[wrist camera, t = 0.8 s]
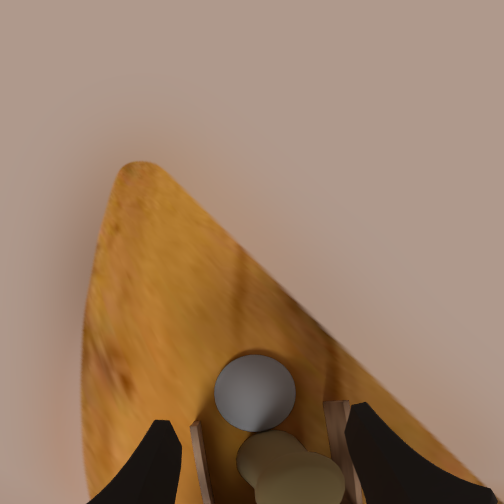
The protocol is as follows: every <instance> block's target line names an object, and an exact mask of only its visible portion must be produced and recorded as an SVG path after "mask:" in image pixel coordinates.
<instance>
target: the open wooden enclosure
mask: <svg viewBox="0 0 504 504" xmlns="http://www.w3.org/2000/svg"><path fill="white" fill-rule="evenodd" d="M323 406H324V412H325V418H326V424H327V431H328V437H329V444H330V450H331V457H332V461H334V462H335V463H336V464H337V465H338V466H339V468H340V469H341V471H342V473H343V475H344V478H345V492H344V495H343V498H342V501H341V502H340V504H363V503H362V492H361V484H360V481H359V478H358V476H357V473H356V471H355V468H354V465H353V463H352V460H351V457H350V454H349V451H348V447H347V443H346V438H345V434H344V431H345V428H346V424H347V421H348V417H349V413H350V405H349V400H342V401H326V402H323ZM190 432H191V438H192V445H193V451H194V457H195V463H196V468H197V474H198V479H199V484H200V489H201V494H202V498H203V503H204V504H215V502H214V497H213V492H212V487H211V482H210V477H209V471H208V466H207V460H206V454H205V448H204V442H203V436H202V429H201V422H200V421H194V422H193V424H192V425H191V426H190Z"/></svg>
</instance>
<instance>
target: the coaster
mask: <svg viewBox="0 0 504 504" xmlns="http://www.w3.org/2000/svg"><path fill="white" fill-rule="evenodd" d="M214 396H215V402H216V405H217V408H218V410H219V412H220V414H221V415H222V416H223V418H224V419H225V420H226V421H227V422H229V423H230V424H231V425H233V426H235V427H237V428H239V429H242V430H245V431H251V432H259V431H265V430H268V429H271V428H273V427H275V426H277V425H279V424H280V423H281V422H282V421H284V420H285V419H286V417H287V416H288V415H289V413H290V412H291V410H292V408H293V406H294V402H295V397H296V390H295V384H294V381H293V378H292V376H291V374H290V373H289V371H288V370H287V369H286V368H285V367H284V366H283V365H282V364H281V363H280V362H278V361H276V360H275V359H272V358H270V357H267V356H263V355H247V356H243V357H240V358H238V359H235V360H234V361H232V362H231V363H229V364H228V365H227V366H226V367H225V368H224V369H223V370H222V372H221V373H220V375H219V376H218V378H217V381H216V384H215V391H214Z"/></svg>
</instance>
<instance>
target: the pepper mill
mask: <svg viewBox="0 0 504 504" xmlns="http://www.w3.org/2000/svg"><path fill="white" fill-rule="evenodd" d="M236 460H237V468H238V470H239V472H240V474H241V476H242V477H243V478H244V479H245V480H246V481H247V482H248V483H249V484H250V485H251V486H252V487H253V488H254V489H255V499H256V503H257V504H340V502H341V501H342V498H343V495H344V492H345V478H344V475H343V473H342V471H341V469H340V468H339V466H338V465H337V464H336V463H335V462H334V461H332V460H331V459H330V458H328V457H325V456H323V455H320V454H318V453H316V452H308V451H307V450H306V449H305V448H304V447H303V445H302V444H301V443H300V442H299V441H298V440H297V439H296V438H295V437H294V436H293V435H291V434H289V433H287V432H285V431H280V430H265V431H261V432H259V433H256V434H254V435H252V436H251V437H249V438H248V439H247V440H246V441H244V443H243V444H242V446H241V447H240V449H239V451H238V455H237V458H236Z"/></svg>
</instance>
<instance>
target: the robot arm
mask: <svg viewBox="0 0 504 504" xmlns="http://www.w3.org/2000/svg"><path fill="white" fill-rule="evenodd" d="M344 434H345V438H346V443H347V447H348V451H349V454H350V457H351V460H352V463H353V465H354V468H355V471H356V473H357V476H358V478H359V481H360V484H361V486H362V489H363V492H364V495H365V498H366V503H367V504H497V502H498V501H497V499H496V497H495V495H494V493H493V491H492V490H491V489H490V488H487V487H483V486H479V485H476V484H473V483H470V482H468V481H465V480H463V479H460V478H458V477H456V476H454V475H452V474H450V473H448V472H446V471H444V470H442V469H440V468H439V467H437V466H436V465H434V464H432V463H431V462H429V461H428V460H426V459H425V458H424V457H422V456H421V455H420V454H418V453H417V452H416V451H414V450H413V449H412V448H411V447H410V446H408V445H407V444H406V443H405V442H404V441H403V440H402V439H401V438H400V437H399V436H398V435H396V434H395V433H394V432H393V431H392V430H391V429H390V428H389V427H388V426H387V425H386V423H385V422H384V421H383V420H382V419H381V418H380V417H379V416H378V415H377V414H376V413H375V411H374V410H373V409H372V408H371V407H370V406H369V405H368V403H366V402H363V403H359V404H355V405H351V409H350V413H349V417H348V421H347V424H346V428H345V431H344ZM181 458H182V445H181V443H180V441H179V439H178V437H177V435H176V433H175V431H174V429H173V427H172V425H171V423H170V421H168V420H155V421H154V422H153V423H152V425H151V427H150V428H149V430H148V431H147V433H146V435H145V436H144V438H143V439H142V441H141V442H140V444H139V446H138V447H137V448H136V450H135V451H134V453H133V454H132V456H131V457H130V458H129V460H128V461H127V462H126V464H125V465H124V466H123V468H122V469H121V470H120V471H119V472H118V474H117V475H116V476H115V477H114V478H113V479H112V481H111V482H110V483H109V484H108V485H107V486H106V487H105V488H104V489H103V490H102V491H101V492H100V493H99V494H97V495H96V496H95V497H94V498H93V499H92V500H90V501H89V502H88V503H87V504H175V498H176V493H177V487H178V481H179V476H180V470H181Z"/></svg>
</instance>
